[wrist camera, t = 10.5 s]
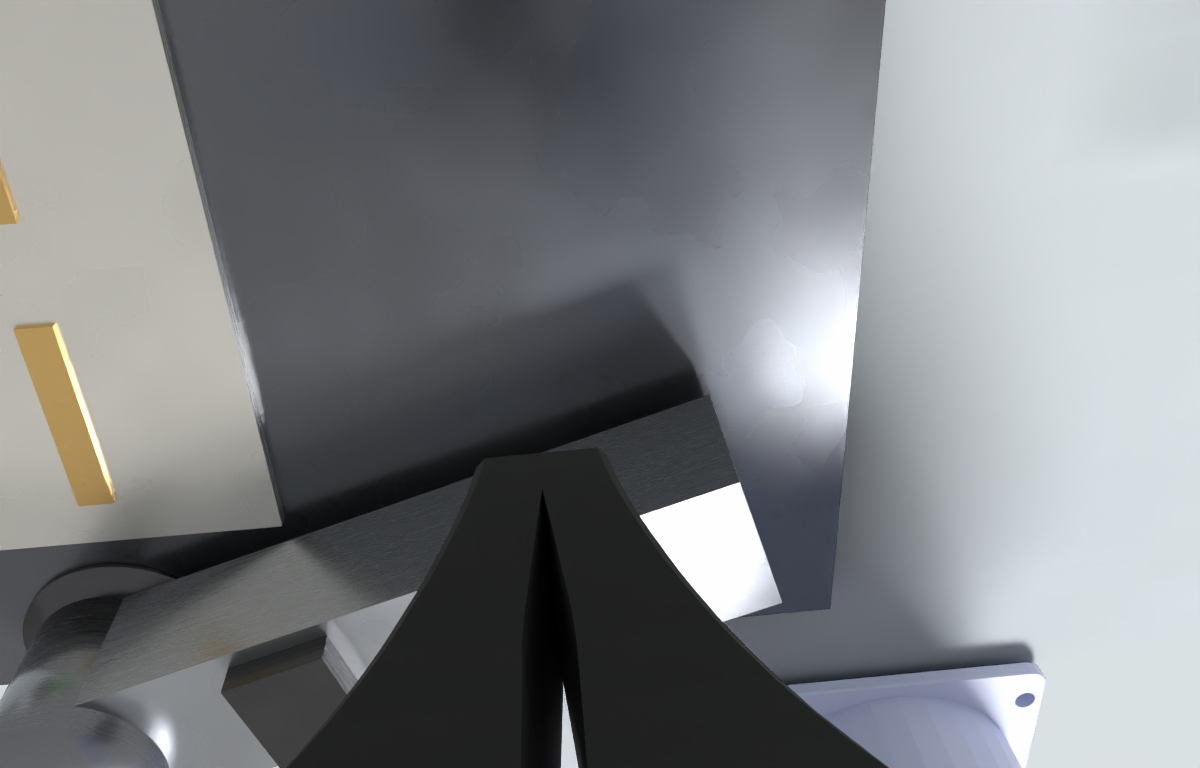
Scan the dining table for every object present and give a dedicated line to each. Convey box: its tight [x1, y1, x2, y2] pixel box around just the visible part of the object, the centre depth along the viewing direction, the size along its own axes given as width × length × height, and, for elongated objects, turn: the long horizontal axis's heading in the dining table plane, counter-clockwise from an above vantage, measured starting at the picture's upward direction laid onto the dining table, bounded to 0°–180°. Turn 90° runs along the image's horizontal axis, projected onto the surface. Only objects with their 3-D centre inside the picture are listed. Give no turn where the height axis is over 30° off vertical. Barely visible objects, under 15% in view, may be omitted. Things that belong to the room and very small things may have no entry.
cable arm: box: [0, 395, 782, 768], centre depth 21 cm, size 16×4×4 cm, turn 110°
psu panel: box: [0, 0, 886, 685], centre depth 20 cm, size 17×20×1 cm
